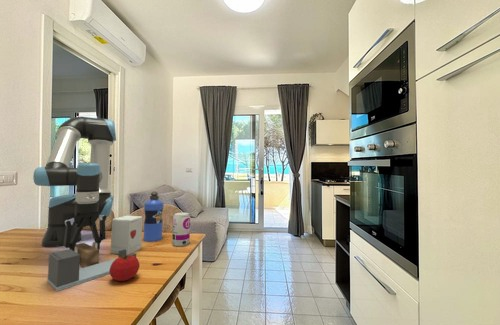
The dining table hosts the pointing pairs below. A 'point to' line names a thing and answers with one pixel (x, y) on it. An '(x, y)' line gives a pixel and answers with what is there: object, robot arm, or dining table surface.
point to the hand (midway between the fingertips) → (84, 261)
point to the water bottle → (153, 219)
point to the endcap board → (74, 269)
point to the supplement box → (126, 234)
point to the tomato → (124, 268)
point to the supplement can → (181, 229)
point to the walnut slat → (87, 255)
